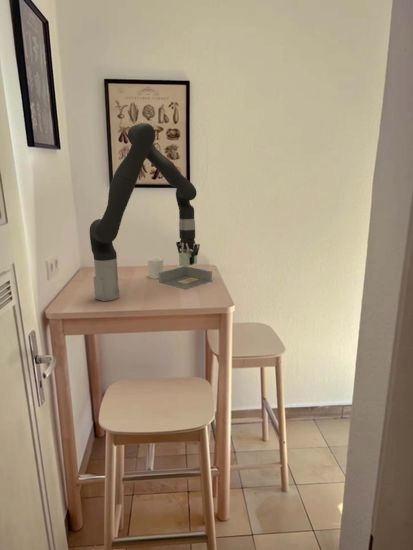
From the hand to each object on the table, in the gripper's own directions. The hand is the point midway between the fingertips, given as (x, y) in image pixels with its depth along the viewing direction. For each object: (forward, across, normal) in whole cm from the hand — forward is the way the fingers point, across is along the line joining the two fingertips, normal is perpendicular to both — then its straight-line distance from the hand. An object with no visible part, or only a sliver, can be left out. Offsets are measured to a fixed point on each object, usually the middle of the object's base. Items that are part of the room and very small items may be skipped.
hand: (188, 263), depth 182 cm
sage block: (0, 0, 0) cm, 0 cm away
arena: (+9, 0, +3) cm, 10 cm away
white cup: (+9, +18, +6) cm, 21 cm away
